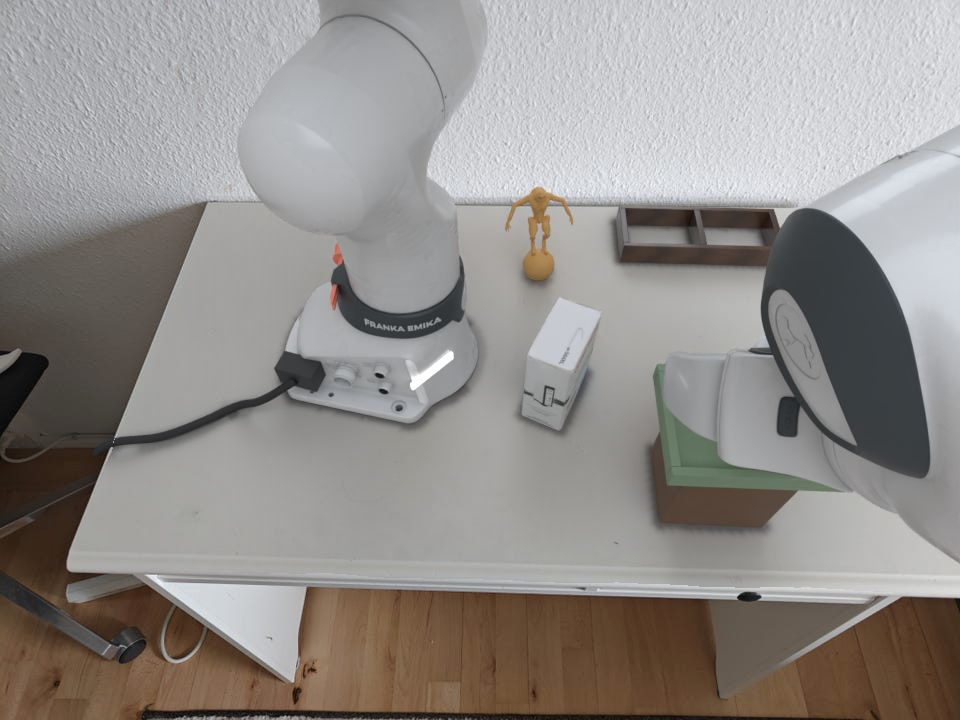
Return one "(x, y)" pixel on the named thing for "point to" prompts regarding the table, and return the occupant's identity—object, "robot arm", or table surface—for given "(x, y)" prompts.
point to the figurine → (537, 260)
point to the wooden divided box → (695, 234)
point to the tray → (712, 478)
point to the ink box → (559, 362)
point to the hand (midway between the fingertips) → (779, 368)
